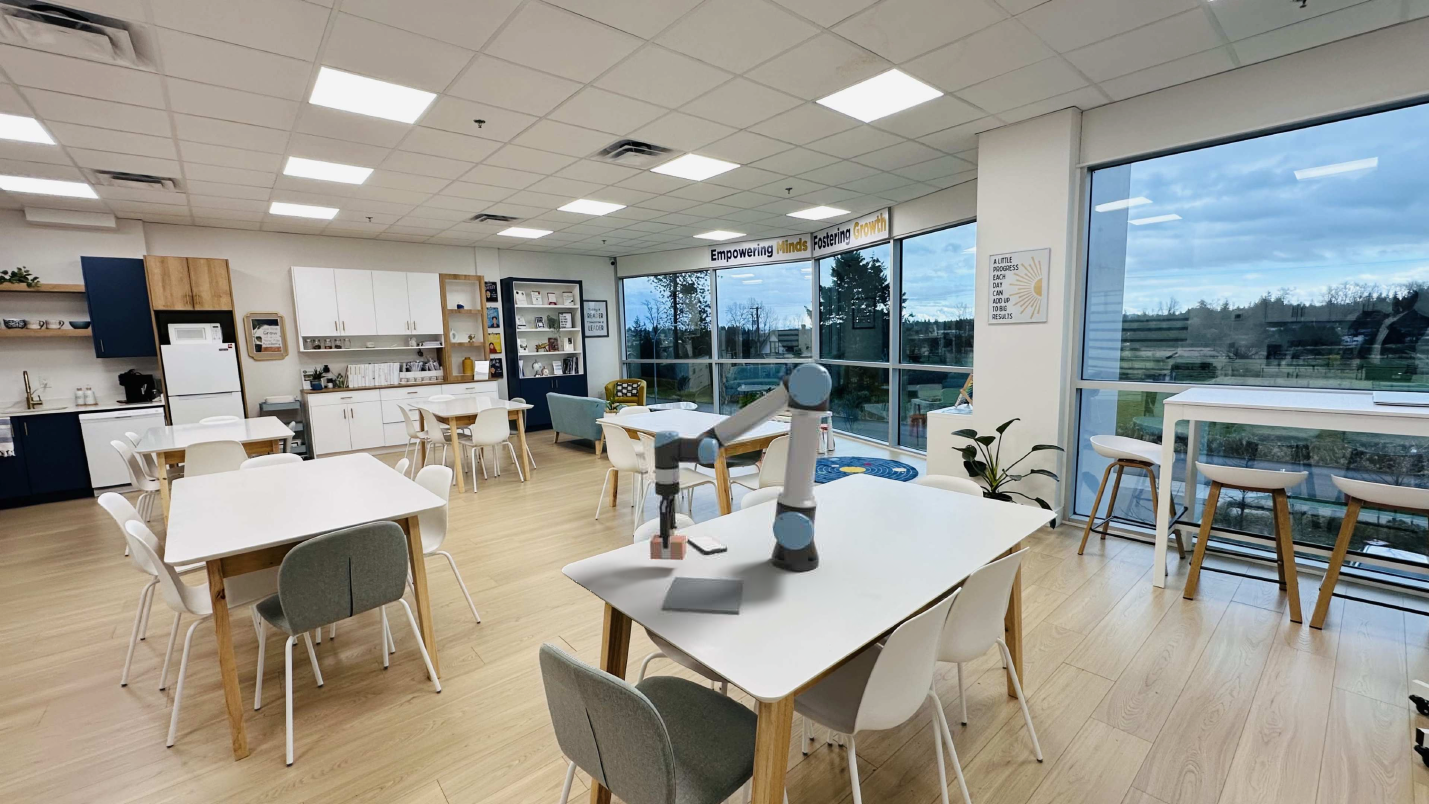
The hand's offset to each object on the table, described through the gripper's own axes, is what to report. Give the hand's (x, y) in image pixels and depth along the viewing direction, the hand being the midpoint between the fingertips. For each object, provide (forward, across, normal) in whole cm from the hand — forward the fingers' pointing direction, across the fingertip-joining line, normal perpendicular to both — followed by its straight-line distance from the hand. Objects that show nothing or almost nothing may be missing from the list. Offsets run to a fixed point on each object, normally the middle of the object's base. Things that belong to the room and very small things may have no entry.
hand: (668, 553), depth 173 cm
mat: (+5, +18, +14) cm, 23 cm away
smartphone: (+6, -22, +9) cm, 25 cm away
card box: (+1, 0, 0) cm, 1 cm away
